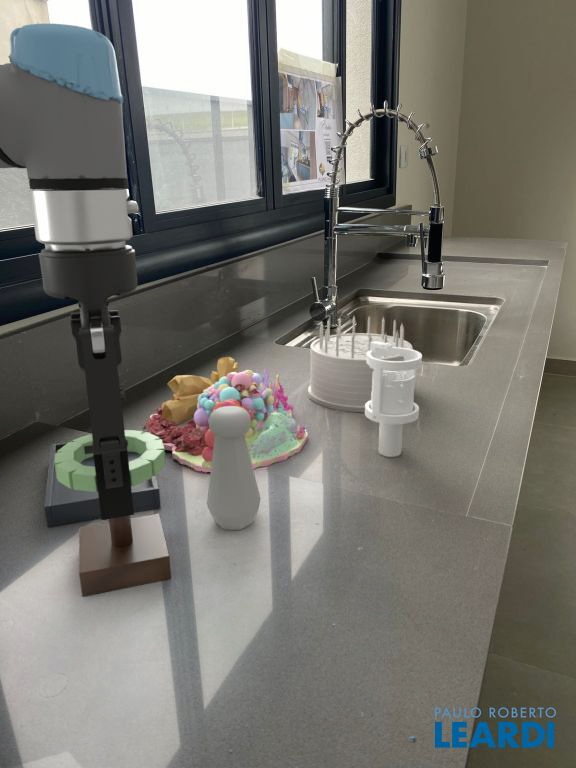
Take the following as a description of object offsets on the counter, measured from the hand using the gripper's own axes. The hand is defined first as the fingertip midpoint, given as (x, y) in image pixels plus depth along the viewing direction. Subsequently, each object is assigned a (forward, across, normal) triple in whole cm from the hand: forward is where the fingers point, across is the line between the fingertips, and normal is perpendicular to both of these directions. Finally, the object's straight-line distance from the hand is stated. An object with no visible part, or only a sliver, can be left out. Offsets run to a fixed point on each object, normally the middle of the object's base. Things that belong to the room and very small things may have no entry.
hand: (114, 487), depth 57 cm
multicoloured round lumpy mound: (+9, +28, -17) cm, 34 cm away
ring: (-2, 0, 0) cm, 2 cm away
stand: (+8, 0, 0) cm, 8 cm away
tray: (+8, +18, +1) cm, 20 cm away
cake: (+8, +37, -42) cm, 57 cm away
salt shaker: (+8, +4, -12) cm, 15 cm away
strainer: (+8, +14, -36) cm, 40 cm away
